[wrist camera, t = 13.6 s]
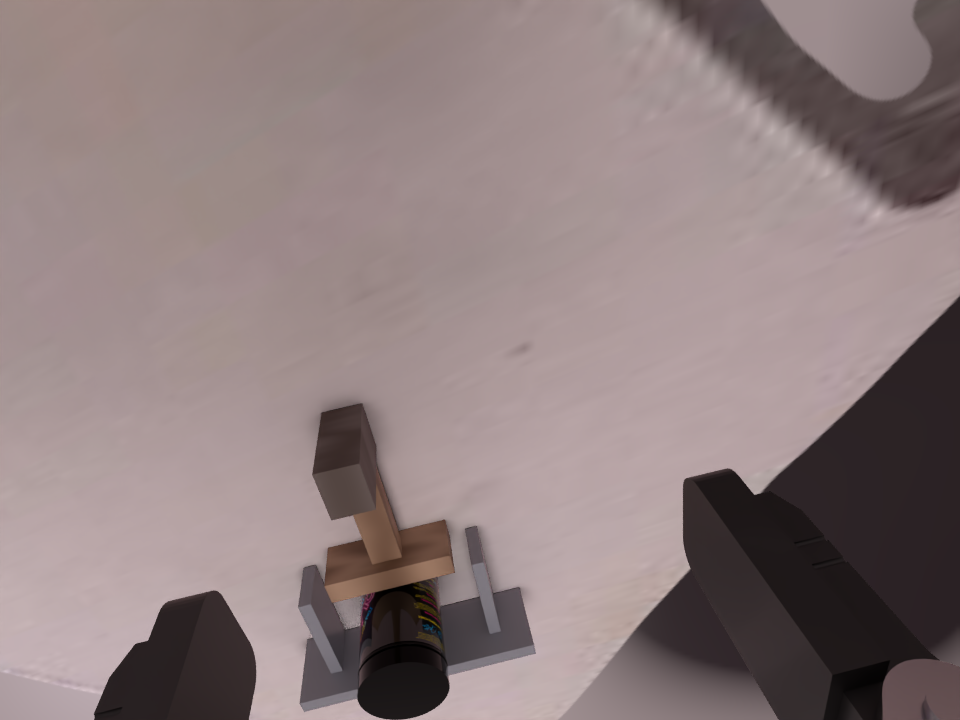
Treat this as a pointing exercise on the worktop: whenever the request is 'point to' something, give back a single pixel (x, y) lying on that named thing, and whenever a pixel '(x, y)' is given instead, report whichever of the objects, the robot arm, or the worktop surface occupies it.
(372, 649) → the supplement container
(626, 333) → the worktop surface
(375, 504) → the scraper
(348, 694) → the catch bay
